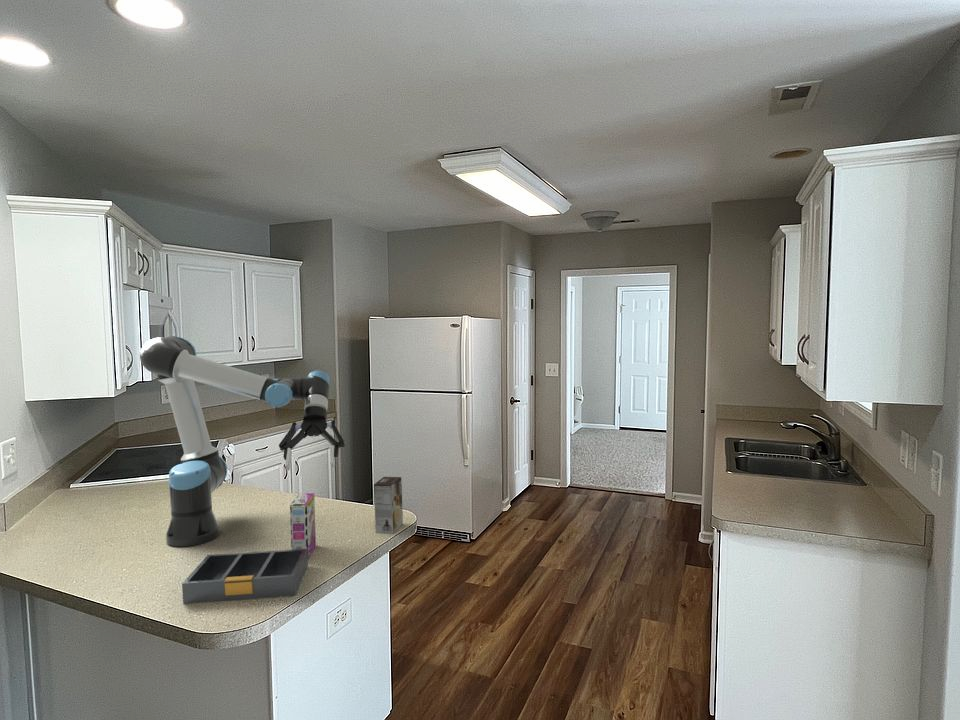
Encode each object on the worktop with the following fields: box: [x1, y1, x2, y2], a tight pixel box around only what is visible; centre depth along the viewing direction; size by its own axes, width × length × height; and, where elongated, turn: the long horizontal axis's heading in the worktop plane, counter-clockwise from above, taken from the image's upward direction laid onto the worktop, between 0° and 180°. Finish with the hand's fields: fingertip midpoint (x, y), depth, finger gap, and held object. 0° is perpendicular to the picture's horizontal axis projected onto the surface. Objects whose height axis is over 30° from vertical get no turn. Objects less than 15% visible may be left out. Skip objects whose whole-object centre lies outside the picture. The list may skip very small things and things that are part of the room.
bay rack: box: [181, 549, 309, 605], centre depth 147 cm, size 26×17×5 cm, turn 96°
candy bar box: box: [289, 493, 317, 560], centre depth 166 cm, size 11×5×16 cm, turn 5°
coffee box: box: [373, 476, 404, 534], centre depth 184 cm, size 9×6×16 cm
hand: (309, 466), depth 175 cm, fingers open, 13 cm apart
